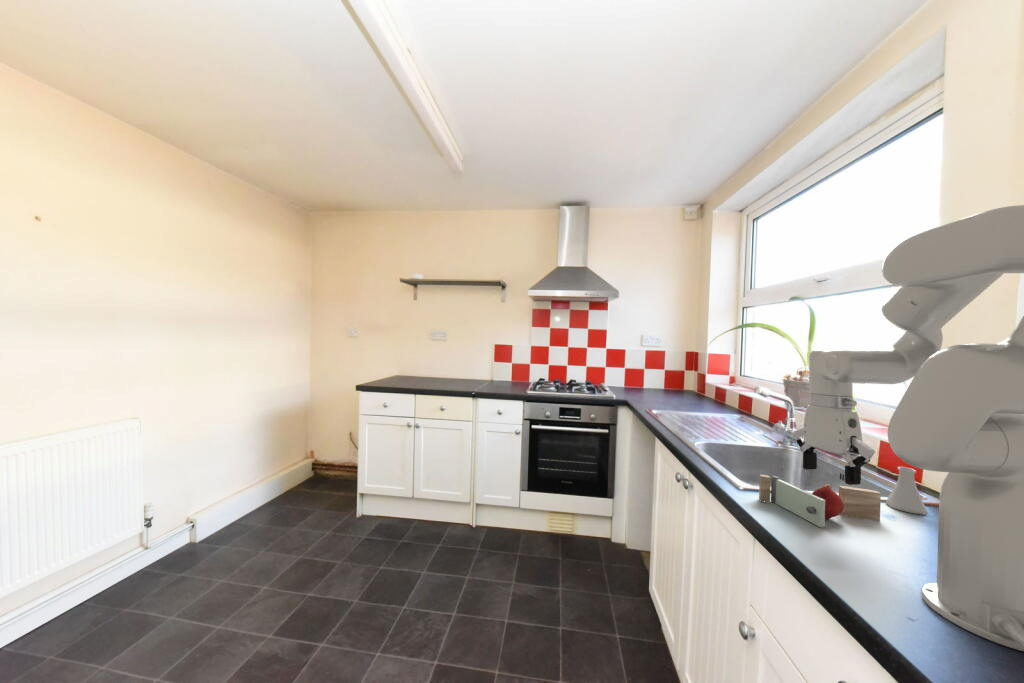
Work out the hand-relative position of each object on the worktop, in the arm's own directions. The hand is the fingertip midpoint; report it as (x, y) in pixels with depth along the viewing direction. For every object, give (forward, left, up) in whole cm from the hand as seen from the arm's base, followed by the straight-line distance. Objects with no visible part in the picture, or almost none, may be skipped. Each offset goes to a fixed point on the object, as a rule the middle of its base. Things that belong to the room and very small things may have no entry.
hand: (830, 476), depth 82 cm
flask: (+16, -21, -11) cm, 29 cm away
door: (0, +6, -10) cm, 12 cm away
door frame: (+5, +1, -10) cm, 12 cm away
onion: (+1, 0, -11) cm, 11 cm away
